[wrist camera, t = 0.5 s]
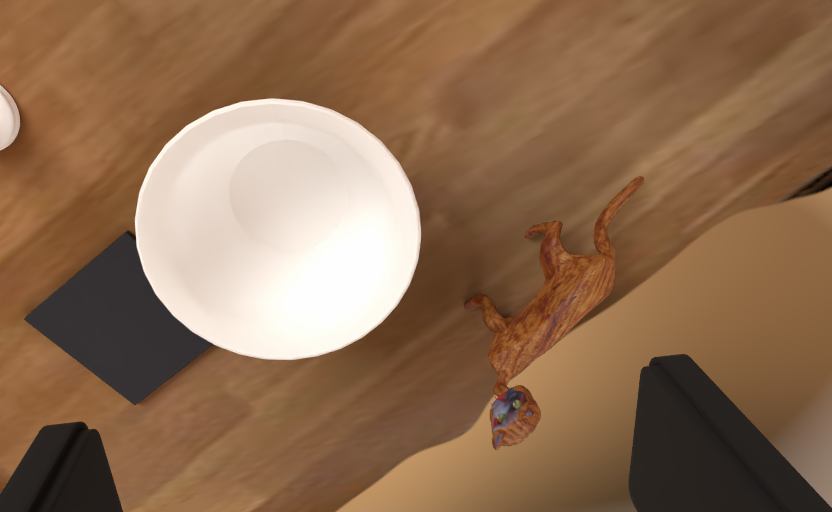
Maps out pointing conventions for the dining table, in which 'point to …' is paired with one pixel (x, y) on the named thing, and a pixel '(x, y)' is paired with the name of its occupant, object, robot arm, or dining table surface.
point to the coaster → (118, 324)
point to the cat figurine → (546, 317)
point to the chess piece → (8, 119)
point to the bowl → (278, 229)
